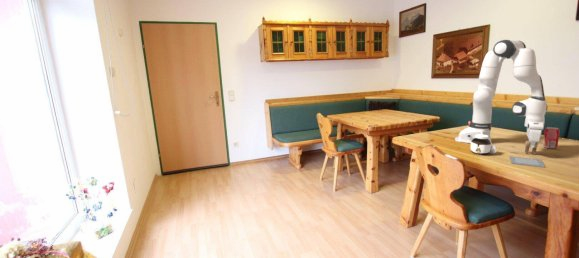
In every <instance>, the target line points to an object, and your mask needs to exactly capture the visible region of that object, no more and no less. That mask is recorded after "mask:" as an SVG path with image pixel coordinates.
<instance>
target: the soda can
mask: <svg viewBox="0 0 579 258" xmlns="http://www.w3.org/2000/svg"><path fill="white" fill-rule="evenodd" d="M543 132H544V134H543V141H542V147H543V148H546V149H551V150H552V149H553V150H555V149H557V148H558V146H559V139H560V133H561V132H560V128H559V127H555V126H547V127H545V129H544V131H543Z"/></svg>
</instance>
